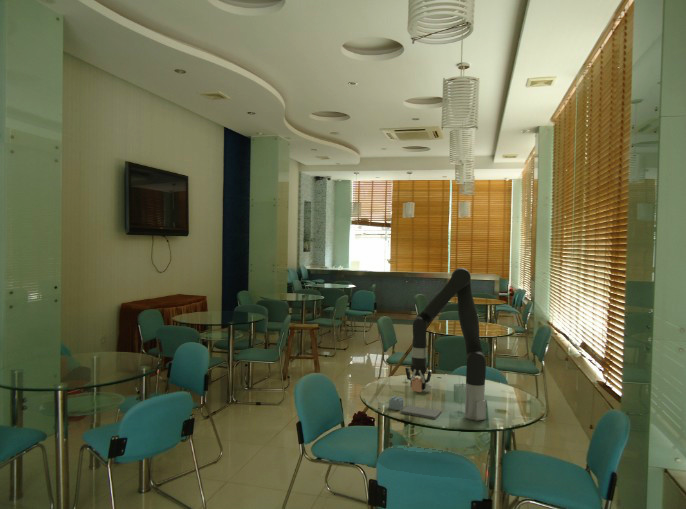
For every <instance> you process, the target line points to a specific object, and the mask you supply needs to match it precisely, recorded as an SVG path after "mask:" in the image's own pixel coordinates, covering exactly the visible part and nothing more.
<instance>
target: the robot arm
mask: <svg viewBox="0 0 686 509" xmlns="http://www.w3.org/2000/svg"><path fill="white" fill-rule="evenodd" d="M471 279H472V276H471V273H470V271H469V270H468V269H466V268H464V267H458V268H456V269H455V270H454V271H453V272H452V274H451V277H450V279H448V280H449V281H448V282H447V283H446V285H445V286H444V287H443V289H441V290H440V292H438V293H437V294H436V295H435V296H434V297H433V298H432V299H431V300H430V302H429V303H427V305H426V307H425V308H424V309H423V310H422V311H421V312H420V313H419V314H418V315H417V316H416V317H415V318H414V320H413V322H412V336H413V337H412V348H411V366H410V367H409V366H407V367H406V368H405V374H406V379H407V380H408V381H410V386H411V385H412V380H413V379H415V378H416V377H419V378H421V379H422V382H423V383H422V390H424V389H425V388H426V383H428V382H429V381H430V382H431V377H432V374H433V371H432V370H431V369H430V370H429V369H428V368H427V358H428V354H427V353H428V352H427V350H428V349H427V329H428V328H427V327H428V325H430V323H431V322H432V321H433V319H435V318H436V317H437V316H438V315H439V314H440V313H441V312H442V311H443V309H444V308H445V307H446V306H447V304H448V303H449V302H450V301H451V300H452V298H454V296H455V295H456V297H457V298H456V299H457V312H458V321H459V326H460V329H461V332H462V336H463V339H464V342H465V353H466V355H465V356H466V357H465V359H466V367H465V368H466V374H465V397H464V398H465V399H464V400H465V402H464V405H465V406H464V418H466V419H467V420H472V421H475V422H477V421H482V420H486V413H487V412H486V411H487V410H486V408H487V401H486V399H485V390H486V388H485V387H486V377H487V376H486V373H487V360H486V359H487V358H486V355H484V351H483V348H482V343H481V339H480V322H479V316H478V312H477V311H478V310H477V307H476V303H475V300H474V298H473V294H472V287H471V286H472V284H471ZM411 373H412V375H411ZM425 374H426V375H427V376H426V375H425ZM426 378H427V379H426Z"/></svg>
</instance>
